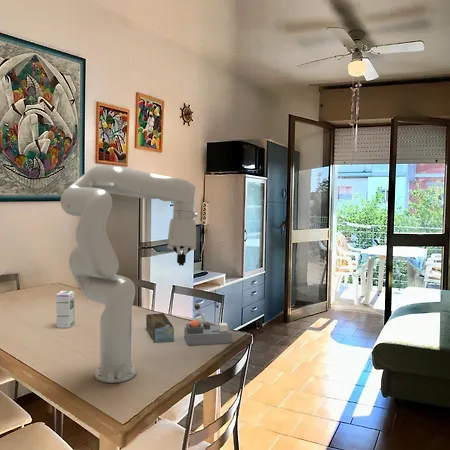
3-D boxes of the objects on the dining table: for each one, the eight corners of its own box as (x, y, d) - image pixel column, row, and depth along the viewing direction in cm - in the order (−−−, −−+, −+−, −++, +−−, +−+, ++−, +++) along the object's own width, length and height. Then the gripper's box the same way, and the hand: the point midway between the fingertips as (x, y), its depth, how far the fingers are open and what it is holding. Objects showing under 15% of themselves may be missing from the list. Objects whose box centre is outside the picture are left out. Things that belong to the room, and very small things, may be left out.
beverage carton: (153, 343, 166) (154, 326, 165) (145, 328, 184) (145, 313, 183) (174, 341, 168) (174, 325, 168) (163, 326, 186) (164, 311, 186)
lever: (210, 326, 172) (198, 304, 170) (205, 329, 172) (193, 306, 170) (209, 324, 174) (197, 302, 172) (204, 327, 174) (193, 305, 172)
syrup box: (70, 328, 180) (70, 293, 179) (55, 327, 180) (55, 293, 179) (74, 323, 186) (74, 290, 184) (60, 323, 186) (60, 290, 184)
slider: (227, 331, 168) (227, 325, 168) (220, 331, 168) (220, 325, 167) (225, 329, 171) (225, 322, 171) (218, 329, 170) (218, 323, 170)
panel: (231, 342, 168) (232, 327, 168) (188, 345, 164) (188, 329, 164) (225, 334, 178) (225, 319, 177) (184, 336, 174) (184, 321, 173)
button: (199, 329, 167) (199, 322, 167) (191, 330, 166) (191, 322, 166) (197, 327, 170) (198, 319, 170) (189, 327, 169) (190, 320, 169)
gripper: (201, 216, 165) (199, 264, 166) (162, 214, 162) (160, 263, 163) (205, 217, 158) (202, 266, 159) (163, 215, 155) (161, 266, 156)
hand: (181, 264), depth 161 cm, fingers closed
